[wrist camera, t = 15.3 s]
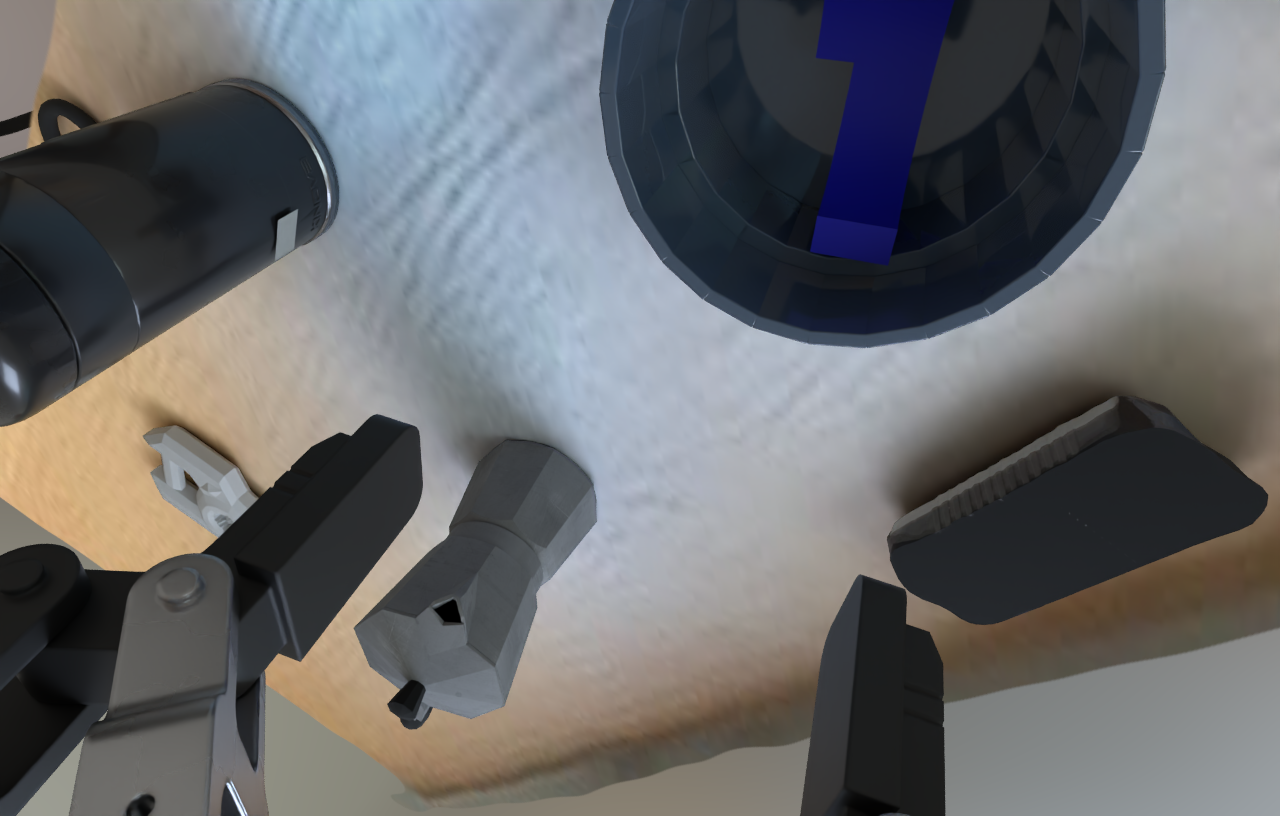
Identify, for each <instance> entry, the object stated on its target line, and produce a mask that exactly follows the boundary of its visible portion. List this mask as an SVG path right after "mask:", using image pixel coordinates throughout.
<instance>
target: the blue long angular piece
mask: <svg viewBox="0 0 1280 816" xmlns="http://www.w3.org/2000/svg"><path fill="white" fill-rule="evenodd" d="M953 3H954V0H824V7H823V15H822V22H821V28H820V35H819V41H818V47H817V53H816V58H820V59H828V60H836V61H844V62H853V63H854V66H853V71H852V75H851V80H850V85H849V90H848V94H847V99H846V103H845V108H844V113H843V117H842V121H841V126H840V130H839V135H838V139H837V143H836V147H835V152H834V156H833V160H832V164H831V168H830V172H829V176H828V180H827V184H826V188H825V191H824V195H823V199H822V202H821V206H820V209H819V212H818V215H817V220H816V225H815V230H814V235H813V240H812V245H811V250H810V252H814V253H819V254H825V255H830V256H836V257H842V258H847V259H853V260H859V261H864V262H870V263H875V264H881V265H887V266H888V264H889V260H890V256H891V253H892V249H893V245H894V242H895V238H896V234H897V231H898V225H899V219H900V213H901V208H902V203H903V198H904V193H905V188H906V183H907V179H908V174H909V170H910V166H911V161H912V157H913V153H914V149H915V144H916V140H917V136H918V132H919V128H920V124H921V120H922V116H923V112H924V108H925V104H926V100H927V96H928V93H929V89H930V85H931V81H932V77H933V74H934V70H935V66H936V63H937V59H938V55H939V52H940V48H941V45H942V41H943V37H944V34H945V31H946V27H947V24H948V20H949V17H950V13H951V10H952V7H953Z"/></svg>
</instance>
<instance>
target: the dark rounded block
mask: <svg viewBox="0 0 1280 816" xmlns="http://www.w3.org/2000/svg"><path fill="white" fill-rule="evenodd" d="M1267 501H1268V494H1267V493H1266V492H1265V490H1264V489H1263V488H1262V487H1261V486H1260V485H1258V484H1257V483H1255V482H1254V481H1252V480H1251V479H1249V478H1248V477H1247V476H1246V475H1245V474H1244V473H1243V472H1242V471H1241V470H1240V469H1239V468H1238V467H1237V466H1236V465H1235V464H1234V463H1233V462H1232V461H1231V460H1229V459H1228V458H1226V457H1225V456H1223V455H1222V454H1220V453H1218V452H1217V451H1215V450H1213V449H1211V448H1210V447H1208V446H1206V445H1204V444H1203V443H1201V442H1200V441H1199V440H1197V439H1196V438H1195V437H1194V436H1193V435H1192V434H1191V433H1190V432H1189V430H1188V429H1187V428H1186V427H1185V426H1184V425H1183V424H1182V423H1181V422H1180V421H1179V420H1178V419H1177V418H1176V417H1175V416H1174V415H1173V413H1172V412H1171V411H1170V410H1169V409H1168V408H1166V407H1165V406H1163V405H1161V404H1158V403H1155V402H1151V401H1148V400H1145V399H1142V398H1138V397H1133V396H1115V397H1113V398H1111V399H1109V400H1108V401H1106V402H1105V403H1103V404H1100V405H1098V406H1095V407H1094V408H1092V409H1091V410H1089V411H1087V412H1086V413H1084V414H1083V415H1081V416H1079V417H1077V418H1075V419H1072V420H1070V421H1069V422H1066V423H1064V424H1061V425H1059V426H1058V427H1057V428H1056V429H1054V430H1053V431H1052V432H1050V433H1047V434H1046V435H1044V436H1043V437H1040V438H1038V439H1037V440H1035V441H1034V442H1033V443H1031V444H1029V445H1027V446H1026V447H1024V448H1023V449H1021V450H1020V451H1018V452H1016V453H1013V454H1012V455H1010V456H1009V457H1007V458H1004V459H1001V460H1000V462H998V463H997V464H995V465H992V466H990V467H989V468H988V469H987V470H985V471H982V472H979V473H977V474H976V475H974V476H973V477H971V478H968V480H967V481H965V482H963V483H959V484H958V485H957V486H956V487H955V488H953V489H949V490H948V491H947V492H946V493H944V494H940V495H938V496H937V497H936V498H935V499H934V500H932V501H930V502H928V503H926V504H924V505H922V506H921V507H919V508H917V509H915V510H913V511H911V512H910V513H908V514H906V515H904V516H903V517H902V518H900V519H899V520H898V521H897V522H895V523H894V526H893V528H892V531H891V532H890V533H889V535H888V537H887V541H888V546H889V552H890V561H891V563H892V566H893V568H894V570H895V573H896V575H897V577H898V579H899V580H900V582H901V583H902V584H903V586H904V587H905V588H906V589H907V590H908V591H909V592H911V593H912V594H914V595H916V596H918V597H919V598H921V599H923V600H926V601H929V602H931V603H934V604H937V605H939V606H941V607H943V608H945V609H947V610H949V611H951V612H952V613H953V614H955V615H956V616H958V617H959V618H961V619H963V620H965V621H967V622H969V623H973V624H980V625H988V624H995V623H999V622H1002V621H1005V620H1007V619H1010V618H1013V617H1015V616H1018V615H1020V614H1023V613H1025V612H1028V611H1031V610H1034V609H1036V608H1039V607H1042V606H1044V605H1046V604H1048V603H1051V602H1054V601H1056V600H1059V599H1062V598H1064V597H1067V596H1069V595H1072V594H1074V593H1076V592H1079V591H1081V590H1084V589H1086V588H1089V587H1091V586H1094V585H1096V584H1099V583H1102V582H1104V581H1106V580H1109V579H1111V578H1114V577H1116V576H1119V575H1121V574H1124V573H1126V572H1129V571H1131V570H1134V569H1136V568H1139V567H1141V566H1144V565H1146V564H1149V563H1152V562H1154V561H1157V560H1159V559H1162V558H1164V557H1167V556H1169V555H1172V554H1174V553H1177V552H1179V551H1182V550H1184V549H1186V548H1189V547H1191V546H1194V545H1197V544H1200V543H1203V542H1205V541H1208V540H1211V539H1214V538H1216V537H1219V536H1223V535H1226V534H1229V533H1232V532H1235V531H1238V530H1240V529H1243V528H1245V527H1247V526H1249V525H1251V524H1253V523H1254V522H1255V520H1256V519H1257V518H1258V517H1259V516H1260V515H1261V514H1262V513H1263V511H1264V509H1265V508H1266V506H1267Z"/></svg>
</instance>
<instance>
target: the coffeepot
mask: <svg viewBox="0 0 1280 816" xmlns="http://www.w3.org/2000/svg"><path fill="white" fill-rule="evenodd" d="M596 522H597V518H596V496H595V491H594V489H593V484H592V482H591V481H590V480H589V478H588V477H587V476H586V475H585V473H584V472H583V471H582V470H581V469H580V468H579V467H578V466H577V465H576V464H575V463H574V462H573V461H572V460H570V459H569V458H568V457H567V456H565V455H563V454H562V453H560V452H558V451H557V450H555V449H553V448H551V447H548V446H546V445H543V444H539V443H536V442H531V441H522V440H521V441H510V440H506V441H504V442H503V443H502V444H501V445H499V446H497V447H496V448H494V449H493V450H492V451H491V452H490V453H489V454H488V455H487V456H485V457H484V458H483V459H482V460H480V461H479V463H478V465H477V467H476V469H475V471H474V474H473V476H472V478H471V480H470V482H469V485H468V487H467V489H466V491H465V493H464V496H463V498H462V500H461V502H460V504H459V506H458V509H457V511H456V513H455V515H454V517H453V520H452V522H451V524H450V526H449V535H448V537H447V538H446V539H445V540H444V541H442V542H441V543H440V544H438V545H437V546H435V547H434V548H433V549H432V550H431V551H429V552H428V553H427V554H426V555H425V556H424V557H423V558H422V559H421V560H420V561H419V562H418V563H417V564H416V565H415V566H414V567H413V568H412V569H411V570H410V571H409V572H408V573H407V574H406V575H405V576H404V577H403V578H402V579H401V580H400V581H399V583H398V584H397V585H396V586H395V587H394V588H393V589H392V590H391V591H390V592H389V593H388V594H387V595H386V596H385V597H384V598H383V599H382V600H381V601H380V602H379V603H378V604H377V605H376V606H375V607H374V608H373V609H372V610H371V611H370V612H369V613H368V614H367V615H366V616H365V617H364V618H363V619H362V620H361V621H360V622H359V623H358V624H357V625H356V626H355V627H354V630H355V632H356V635H357V637H358V639H359V642H360V644H361V647H362V649H363V651H364V654H365V656H366V658H367V661H368V663H369V665H370V667H371V668H373V669H374V670H375V671H377V672H378V673H379V674H380V675H382V676H383V677H384V678H386V679H387V680H388V681H390V682H391V683H392V684H394V685H395V686H396V687H397V688H399V689H400V691H399V692H398V693H397V694H396V695H395V696H394V697H393V698H392V699H391V701H390V702H389V703H388V704H387V705H388V707H389V709H390V711H391V712H392V713H394V714H395V715H396V716H398V717H399V718H400V720H401V722H402V724H403V726H404V727H406V728H408V729H417V728H419V727H421V726H422V725H423V723H424V722H425V721H426V720H427V718H428V717H429V715H430V713H431V711H432V708H437V709H440V710H443V711H447V712H450V713H453V714H456V715H460V716H463V717H466V718H470V719H472V718H475V717H477V716H480V715H482V714H485V713H488V712H490V711H493V710H495V709H498V708H501V707H503V706H505V703H506V700H507V697H508V694H509V691H510V688H511V685H512V682H513V679H514V676H515V673H516V670H517V667H518V664H519V661H520V658H521V655H522V652H523V649H524V646H525V643H526V640H527V637H528V634H529V631H530V628H531V625H532V622H533V619H534V616H535V613H536V610H537V599H536V593H537V591H538V590H539V588H540V586H542V585H543V584H544V583H546V582H547V581H548V580H550V579H551V577H552V576H553V575H554V574H555V573H556V571H557V570H558V569H559V568H560V566H561V565H562V564H563V563H564V561H565V560H566V559H567V558H568V556H569V555H570V554H571V553H572V552H573V550H574V549H575V548H576V547H577V545H578V544H579V543H580V542H581V540H582V539H583V538H584V537H585V535H586V534H587V533H588V532H589V531H590V529H591V528H592V527H593V526H594V524H595V523H596Z"/></svg>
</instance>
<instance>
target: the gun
mask: <svg viewBox="0 0 1280 816" xmlns="http://www.w3.org/2000/svg"><path fill="white" fill-rule="evenodd" d="M143 438H144V439H145V440H146V442H147V443H148V444H149V445H150V446H151V447H152V448H154V449H155V450H157V451H158V452H159V453H161V458H162V464H163V466H162V465H159V466H158V467H157V468H155V469H154V470H153V471H151V472H150V473H151V475H152V478H153V480H154V482H155V484H156V486H157V488H158V490H159V492H160V494H161V495H162V497H163V499H165V500H166V501H167V502H169V503H170V504H172V505H173V506H175V507H176V508H177V509H179V510H180V511H182V512H183V513H184V514H186V515H187V516H189V517H190V518H191V519H193V520H194V521H196V522H197V523H198V524H200V525H201V526H203V527H204V528H206V529H207V530H208V531H210V532H211V533H213V534H214V535H215V536H217V537H218V538H219V537H220V536H221V535H222V534H223V533H224V532H225V531H226V530H227V529H228V528H229V527H230V526H231V525H232V524H233V523H234V522H235V521H236V520H237V519H238V518H239V517H240V516H241V515H242V514H243V513H244V512H245V511H246V510H247V509H248V508H249V507H250V506H251V505H252V504H253V503H254V502H256V501H257V500H258V499H259V498H258V497H257V496H256V495H255V494H254V493H253V492H252V491H251V490H250V488H249V486H248V484H247V483H246V481H245V479H244V477H243V475H242V474H241V472H240V470H239V468H238V467H237V466H235V465H234V464H232V463H231V462H230V461H228V460H227V459H225V458H224V457H223V456H221V455H220V454H218V453H217V452H216V451H214V450H213V449H212V448H210V447H209V446H207V445H206V444H205V443H203V442H202V441H200V440H199V439H198V438H196V437H195V436H193V435H192V434H191V433H189V432H188V431H186V430H185V429H184V428H182V427H179V426H176V425H174V426H167V427H160V428H153V429H152V430H151V431H149V432H148V433H146V434H145V435H143ZM184 470H185V471H186V472H187V473H189V474H190V475H191V477H192V478H193V480H194V481H195V482H196V484H197V485H198V487H199V488H198V487H196V486H195V485H193V484H192V483H191V482H189V481H188V480H186V479H185V475H184Z"/></svg>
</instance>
